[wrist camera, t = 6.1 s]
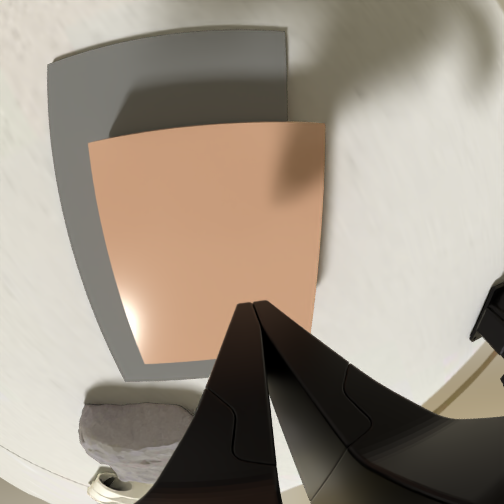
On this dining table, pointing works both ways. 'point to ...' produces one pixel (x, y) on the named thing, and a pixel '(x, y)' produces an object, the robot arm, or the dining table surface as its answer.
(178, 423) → the stone block
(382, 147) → the dining table surface
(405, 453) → the robot arm
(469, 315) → the dining table surface
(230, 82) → the mat
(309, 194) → the tan flat block
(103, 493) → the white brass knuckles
